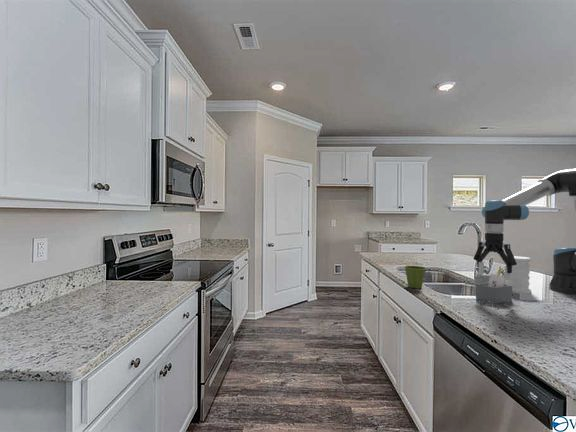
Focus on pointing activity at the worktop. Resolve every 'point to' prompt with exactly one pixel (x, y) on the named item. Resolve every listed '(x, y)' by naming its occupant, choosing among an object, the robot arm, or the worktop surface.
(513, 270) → the decorative container
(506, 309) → the worktop surface
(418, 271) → the plant pot
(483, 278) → the teacup
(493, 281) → the candle
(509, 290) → the slate holder
